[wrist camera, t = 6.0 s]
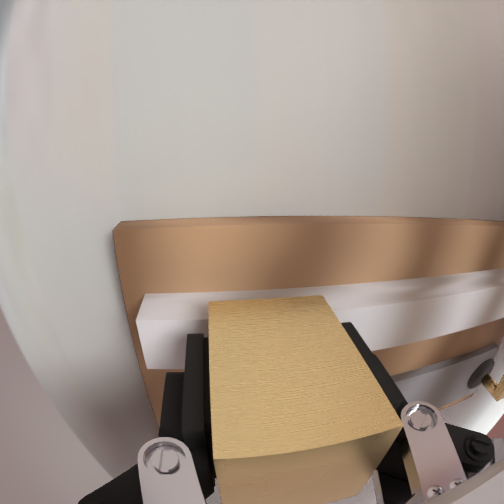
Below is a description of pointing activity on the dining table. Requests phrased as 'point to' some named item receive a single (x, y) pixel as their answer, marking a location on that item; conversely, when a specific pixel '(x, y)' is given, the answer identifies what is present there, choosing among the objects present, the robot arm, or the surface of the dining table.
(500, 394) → the fixed leg
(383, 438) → the block
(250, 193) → the dining table surface
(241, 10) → the dining table surface
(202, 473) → the robot arm
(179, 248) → the board
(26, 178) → the dining table surface
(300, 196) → the dining table surface
